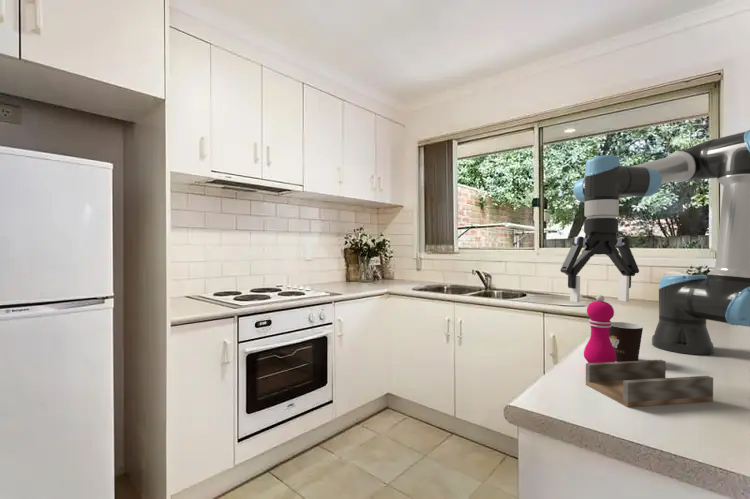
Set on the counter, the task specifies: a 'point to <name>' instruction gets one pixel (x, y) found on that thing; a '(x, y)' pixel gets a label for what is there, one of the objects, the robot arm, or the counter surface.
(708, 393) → the rail track
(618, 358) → the coffee mug
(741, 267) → the robot arm
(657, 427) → the counter surface
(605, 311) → the pepper mill
